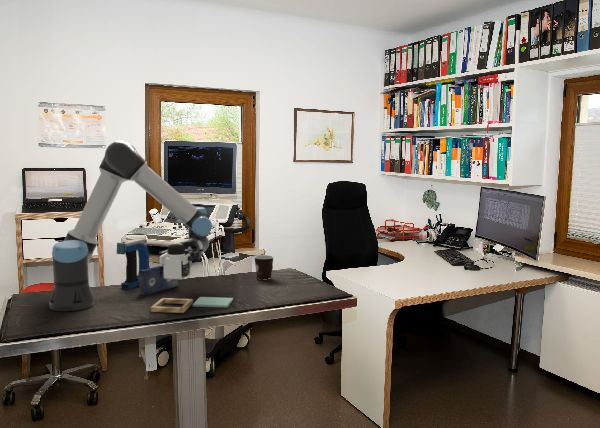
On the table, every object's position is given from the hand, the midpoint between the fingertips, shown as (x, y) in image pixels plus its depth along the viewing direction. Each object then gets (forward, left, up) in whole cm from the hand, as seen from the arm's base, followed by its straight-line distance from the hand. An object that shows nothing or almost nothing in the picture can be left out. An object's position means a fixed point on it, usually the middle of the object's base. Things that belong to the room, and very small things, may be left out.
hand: (172, 260), depth 178 cm
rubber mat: (+12, +11, -18) cm, 24 cm away
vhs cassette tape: (-15, +27, -19) cm, 36 cm away
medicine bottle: (0, +5, -7) cm, 9 cm away
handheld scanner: (-28, +32, -18) cm, 46 cm away
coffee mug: (+25, +50, -18) cm, 59 cm away
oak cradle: (-2, +4, -18) cm, 19 cm away
